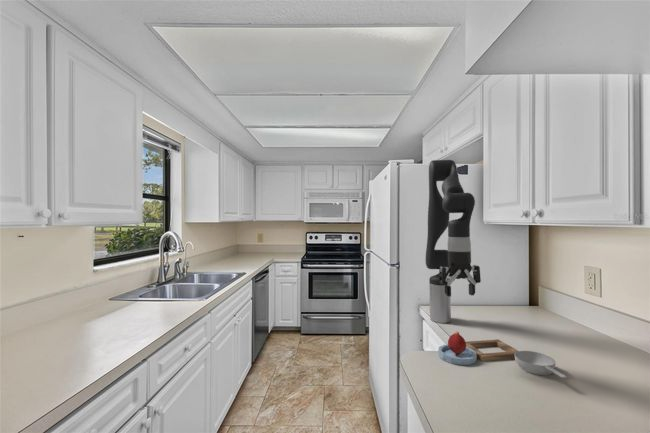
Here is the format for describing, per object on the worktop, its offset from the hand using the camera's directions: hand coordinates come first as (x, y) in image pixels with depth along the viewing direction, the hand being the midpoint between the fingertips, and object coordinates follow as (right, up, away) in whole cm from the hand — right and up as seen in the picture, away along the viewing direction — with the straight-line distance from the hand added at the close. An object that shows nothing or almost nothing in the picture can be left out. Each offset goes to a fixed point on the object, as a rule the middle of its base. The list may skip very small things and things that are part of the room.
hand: (460, 295), depth 109 cm
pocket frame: (+12, -21, +2) cm, 24 cm away
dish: (-2, -21, -2) cm, 21 cm away
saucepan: (+19, -21, -15) cm, 31 cm away
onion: (-2, -20, -2) cm, 20 cm away
